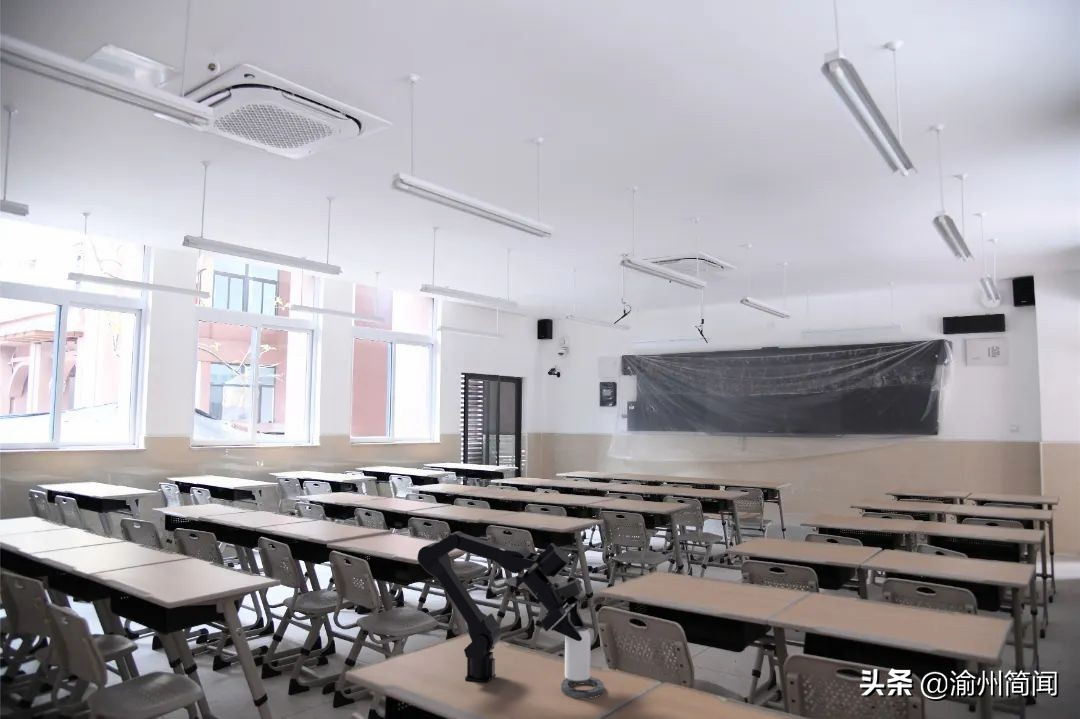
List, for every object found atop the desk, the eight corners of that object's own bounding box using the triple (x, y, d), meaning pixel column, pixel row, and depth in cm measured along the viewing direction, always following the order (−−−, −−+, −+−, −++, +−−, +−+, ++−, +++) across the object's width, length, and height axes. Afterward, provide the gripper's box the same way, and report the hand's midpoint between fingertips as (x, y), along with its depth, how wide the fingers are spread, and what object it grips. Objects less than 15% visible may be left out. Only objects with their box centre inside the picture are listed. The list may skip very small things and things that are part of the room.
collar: (558, 696, 171) (558, 690, 172) (566, 680, 182) (566, 674, 182) (600, 700, 169) (600, 694, 169) (605, 684, 179) (605, 678, 179)
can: (588, 682, 171) (589, 631, 173) (563, 680, 172) (563, 630, 174) (591, 675, 177) (591, 626, 180) (566, 674, 178) (566, 625, 181)
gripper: (554, 576, 170) (597, 627, 166) (573, 560, 188) (612, 606, 184) (523, 606, 172) (565, 656, 168) (545, 587, 190) (583, 633, 186)
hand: (583, 636), depth 176 cm, fingers closed on can, 6 cm apart
